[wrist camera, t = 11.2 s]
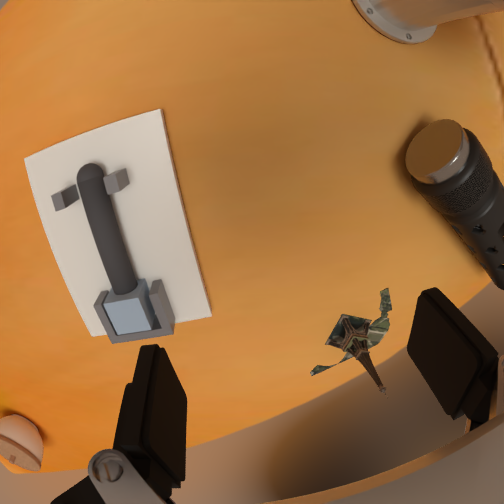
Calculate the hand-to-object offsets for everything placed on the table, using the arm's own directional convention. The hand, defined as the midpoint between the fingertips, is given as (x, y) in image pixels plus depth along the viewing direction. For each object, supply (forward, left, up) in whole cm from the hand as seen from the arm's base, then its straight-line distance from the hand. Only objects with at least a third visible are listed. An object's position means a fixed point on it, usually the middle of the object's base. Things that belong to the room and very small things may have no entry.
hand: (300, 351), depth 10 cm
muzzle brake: (+6, +30, -23) cm, 39 cm away
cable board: (+1, -14, -23) cm, 27 cm away
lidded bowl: (+35, -55, -23) cm, 69 cm away
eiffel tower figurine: (+22, +12, -24) cm, 35 cm away
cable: (+1, -14, -21) cm, 25 cm away
